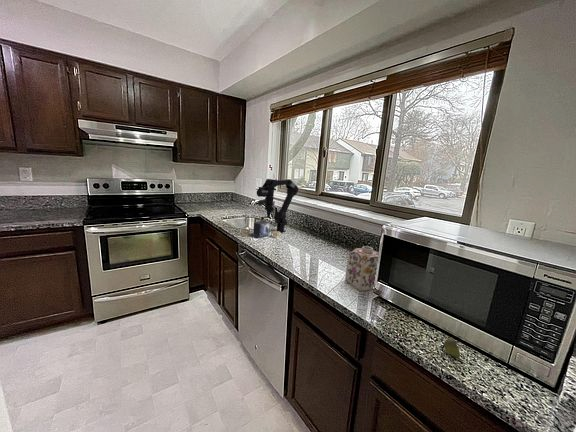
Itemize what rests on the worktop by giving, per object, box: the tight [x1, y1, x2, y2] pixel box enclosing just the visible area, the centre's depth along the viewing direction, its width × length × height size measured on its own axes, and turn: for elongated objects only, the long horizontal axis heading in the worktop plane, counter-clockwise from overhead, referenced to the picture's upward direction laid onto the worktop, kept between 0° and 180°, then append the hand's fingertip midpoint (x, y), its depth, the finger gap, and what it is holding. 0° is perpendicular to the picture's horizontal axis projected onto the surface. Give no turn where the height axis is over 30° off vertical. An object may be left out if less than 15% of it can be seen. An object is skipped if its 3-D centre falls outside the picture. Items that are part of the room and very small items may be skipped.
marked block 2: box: [272, 230, 281, 239], centre depth 178 cm, size 4×4×4 cm
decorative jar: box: [344, 245, 379, 292], centre depth 112 cm, size 12×12×18 cm
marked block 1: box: [241, 228, 251, 237], centre depth 176 cm, size 4×4×4 cm
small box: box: [252, 220, 271, 239], centre depth 177 cm, size 11×6×10 cm, turn 143°
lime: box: [443, 337, 461, 359], centre depth 72 cm, size 4×5×5 cm
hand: (268, 217), depth 182 cm, fingers closed
